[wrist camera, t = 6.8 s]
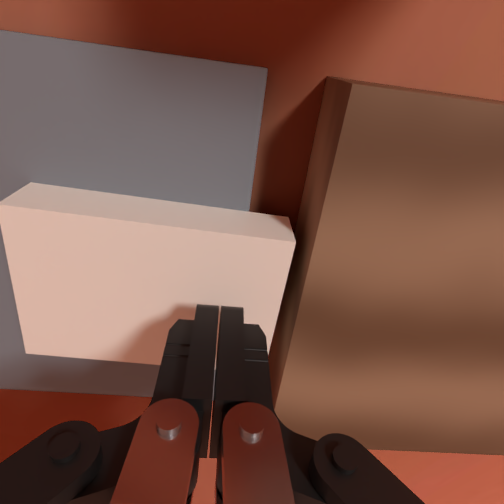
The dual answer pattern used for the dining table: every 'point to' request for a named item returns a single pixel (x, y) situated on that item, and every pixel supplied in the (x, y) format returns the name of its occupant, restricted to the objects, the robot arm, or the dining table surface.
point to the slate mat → (117, 158)
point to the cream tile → (134, 269)
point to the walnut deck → (397, 275)
